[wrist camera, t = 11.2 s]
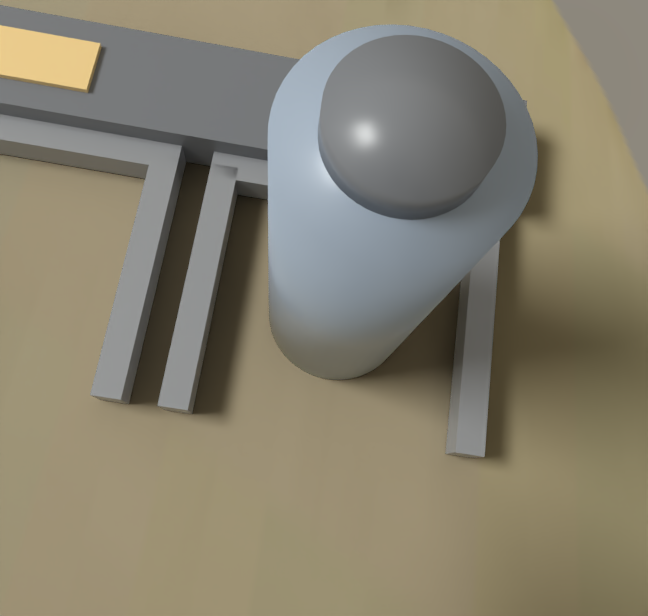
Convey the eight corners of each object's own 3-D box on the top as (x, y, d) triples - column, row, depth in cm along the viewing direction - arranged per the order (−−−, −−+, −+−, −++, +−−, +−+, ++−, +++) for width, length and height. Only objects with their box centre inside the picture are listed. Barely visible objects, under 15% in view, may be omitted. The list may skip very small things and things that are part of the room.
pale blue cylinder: (304, 403, 22) (348, 299, 9) (247, 280, 23) (219, 44, 10) (426, 345, 23) (611, 183, 10) (366, 230, 24) (469, -40, 11)
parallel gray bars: (-208, 351, 21) (-263, 336, 19) (-77, 24, 24) (-110, -19, 22) (484, 459, 22) (507, 457, 20) (507, 129, 25) (528, 97, 23)
